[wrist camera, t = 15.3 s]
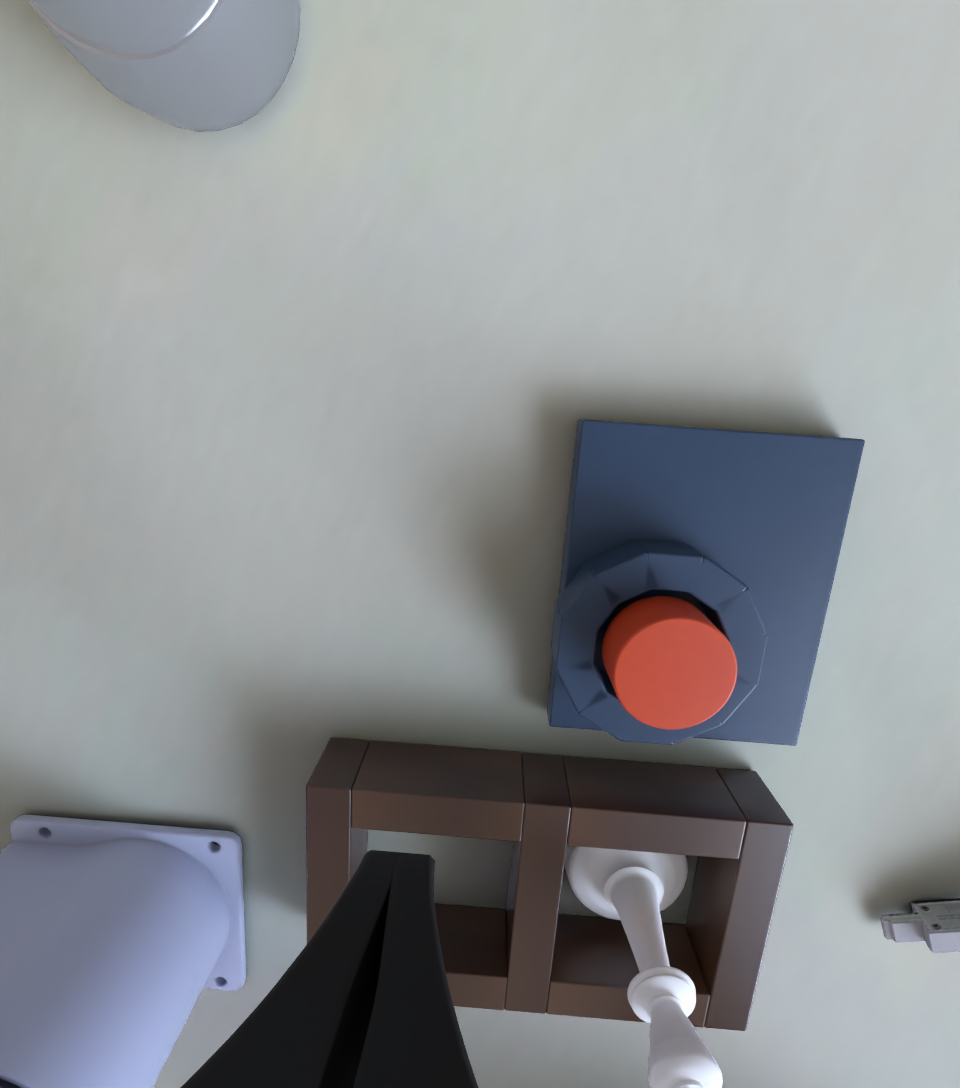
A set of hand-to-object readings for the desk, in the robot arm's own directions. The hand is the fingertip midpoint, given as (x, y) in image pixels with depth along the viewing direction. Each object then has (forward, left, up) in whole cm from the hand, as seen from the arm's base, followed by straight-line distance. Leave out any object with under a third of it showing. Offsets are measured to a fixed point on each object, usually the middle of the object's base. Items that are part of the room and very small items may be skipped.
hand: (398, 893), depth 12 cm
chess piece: (+8, -8, -11) cm, 15 cm away
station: (+9, +4, -10) cm, 14 cm away
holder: (+4, -8, -10) cm, 14 cm away
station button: (+7, +3, -8) cm, 11 cm away
